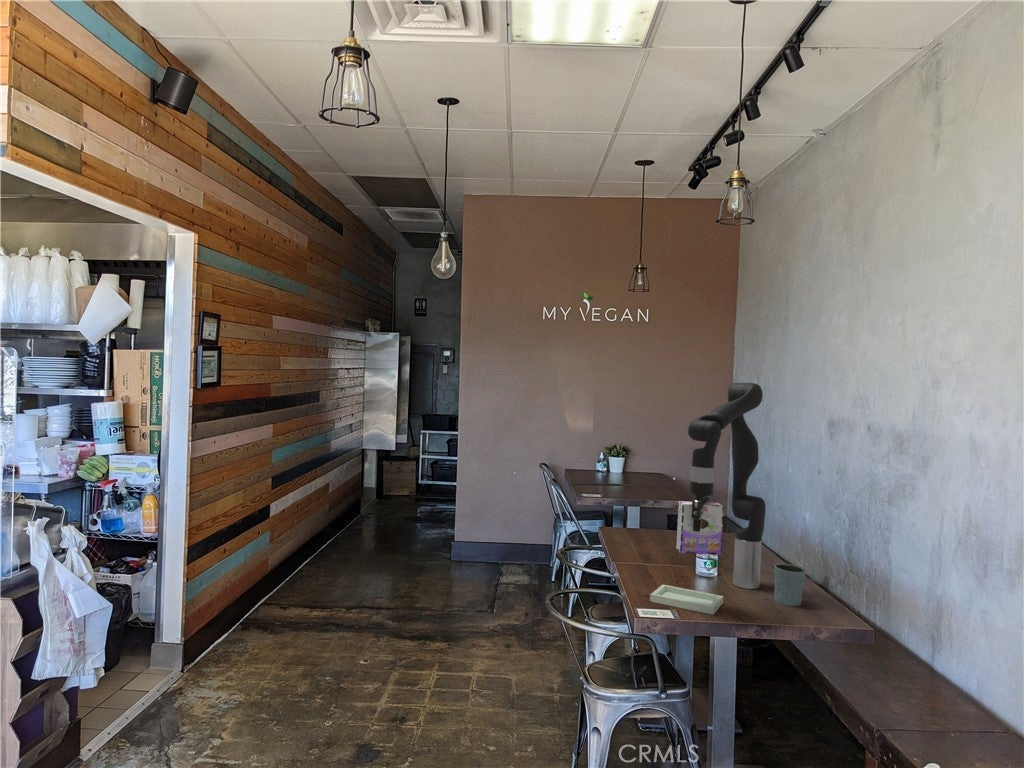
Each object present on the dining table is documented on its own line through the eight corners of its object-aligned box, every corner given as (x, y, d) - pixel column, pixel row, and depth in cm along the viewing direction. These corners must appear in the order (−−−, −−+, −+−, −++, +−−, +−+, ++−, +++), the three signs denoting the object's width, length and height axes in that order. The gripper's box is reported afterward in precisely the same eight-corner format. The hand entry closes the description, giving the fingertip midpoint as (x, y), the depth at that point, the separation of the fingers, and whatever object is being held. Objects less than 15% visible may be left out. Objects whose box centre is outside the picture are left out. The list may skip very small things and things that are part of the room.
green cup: (778, 595, 239) (779, 561, 239) (808, 602, 233) (809, 567, 233) (768, 601, 231) (770, 567, 231) (799, 609, 225) (801, 573, 225)
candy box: (716, 550, 228) (719, 502, 228) (721, 555, 222) (724, 505, 222) (675, 548, 228) (678, 500, 228) (679, 553, 222) (682, 503, 222)
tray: (662, 591, 237) (662, 584, 237) (722, 603, 227) (723, 596, 227) (650, 601, 225) (650, 594, 225) (713, 614, 215) (713, 607, 215)
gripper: (695, 476, 233) (693, 524, 233) (685, 481, 220) (682, 531, 220) (717, 479, 229) (715, 527, 229) (708, 484, 217) (706, 534, 217)
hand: (699, 529), depth 225 cm, fingers closed on candy box, 8 cm apart
